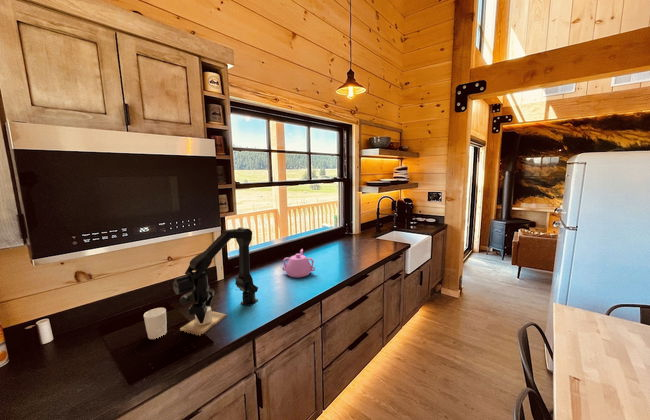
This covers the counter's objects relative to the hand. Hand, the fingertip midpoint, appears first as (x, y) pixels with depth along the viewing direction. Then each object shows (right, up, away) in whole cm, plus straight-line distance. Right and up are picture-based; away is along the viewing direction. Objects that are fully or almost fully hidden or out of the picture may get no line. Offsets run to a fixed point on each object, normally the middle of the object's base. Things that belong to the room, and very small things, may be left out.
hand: (203, 318), depth 119 cm
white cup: (-16, -4, -7) cm, 18 cm away
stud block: (0, -2, 0) cm, 2 cm away
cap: (0, -1, 0) cm, 1 cm away
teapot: (+37, +7, +58) cm, 70 cm away
